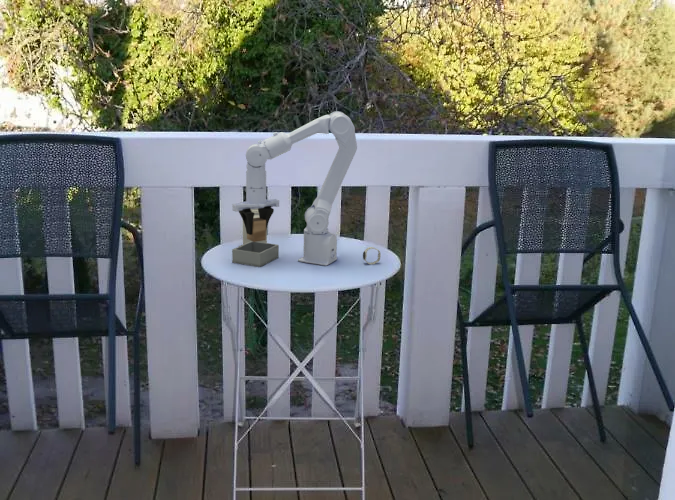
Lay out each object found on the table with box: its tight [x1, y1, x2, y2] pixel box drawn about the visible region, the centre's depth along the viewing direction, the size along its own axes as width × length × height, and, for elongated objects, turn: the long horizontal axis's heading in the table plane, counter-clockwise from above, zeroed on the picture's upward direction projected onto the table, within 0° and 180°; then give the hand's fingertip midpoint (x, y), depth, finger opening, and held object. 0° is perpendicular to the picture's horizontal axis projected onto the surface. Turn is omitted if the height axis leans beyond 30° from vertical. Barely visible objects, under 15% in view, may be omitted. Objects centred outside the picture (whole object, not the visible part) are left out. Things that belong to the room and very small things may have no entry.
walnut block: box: [247, 217, 266, 242], centre depth 212 cm, size 4×4×6 cm
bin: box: [231, 241, 280, 268], centre depth 215 cm, size 9×11×4 cm
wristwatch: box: [362, 246, 381, 265], centre depth 214 cm, size 3×5×5 cm, turn 104°
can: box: [242, 209, 268, 245], centre depth 227 cm, size 8×8×12 cm
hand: (256, 232), depth 212 cm, fingers closed on walnut block, 4 cm apart
